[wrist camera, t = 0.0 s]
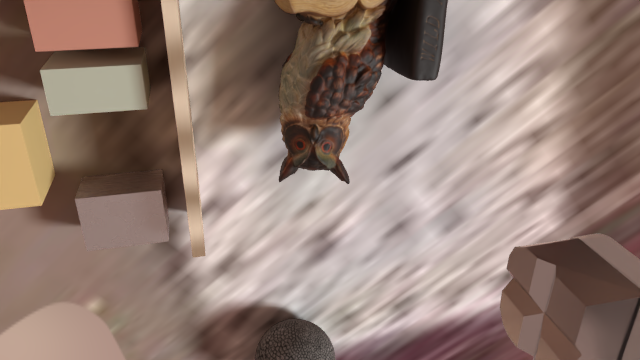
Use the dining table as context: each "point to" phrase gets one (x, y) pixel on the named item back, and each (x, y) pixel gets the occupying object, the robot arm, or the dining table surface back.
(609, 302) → the robot arm
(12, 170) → the book
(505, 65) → the dining table surface
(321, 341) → the decorative ball
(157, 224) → the block
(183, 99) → the shelf corner
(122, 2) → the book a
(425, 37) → the brown owl figurine
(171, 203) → the dining table surface
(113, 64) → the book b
